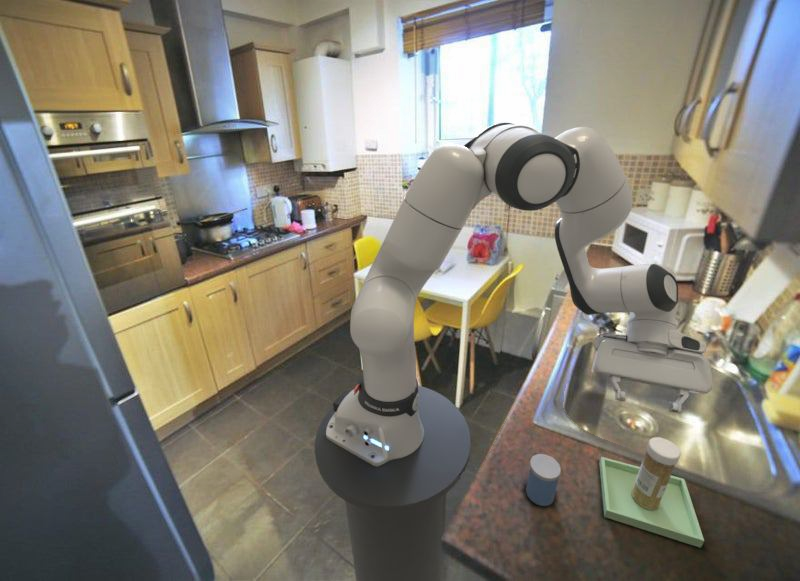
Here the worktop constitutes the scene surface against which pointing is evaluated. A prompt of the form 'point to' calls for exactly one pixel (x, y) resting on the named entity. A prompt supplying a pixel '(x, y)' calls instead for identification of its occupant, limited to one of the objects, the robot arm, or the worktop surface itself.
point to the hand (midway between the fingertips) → (646, 406)
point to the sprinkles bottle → (655, 472)
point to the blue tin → (542, 479)
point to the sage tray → (666, 520)
